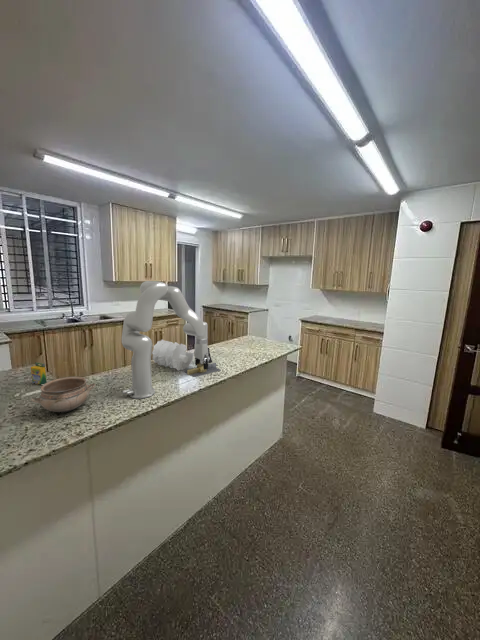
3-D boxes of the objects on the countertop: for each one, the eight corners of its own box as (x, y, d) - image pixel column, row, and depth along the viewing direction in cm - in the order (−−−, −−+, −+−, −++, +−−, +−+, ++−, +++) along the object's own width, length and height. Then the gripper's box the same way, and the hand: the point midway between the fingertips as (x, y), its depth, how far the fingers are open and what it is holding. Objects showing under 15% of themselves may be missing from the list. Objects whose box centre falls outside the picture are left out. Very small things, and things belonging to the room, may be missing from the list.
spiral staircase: (180, 378, 173) (154, 369, 185) (197, 361, 185) (171, 353, 197) (172, 357, 163) (144, 348, 176) (190, 340, 175) (163, 333, 188)
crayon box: (32, 383, 150) (29, 363, 148) (37, 381, 153) (35, 362, 151) (41, 385, 148) (39, 365, 146) (47, 383, 151) (45, 363, 149)
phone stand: (203, 366, 186) (203, 349, 184) (197, 364, 190) (197, 347, 188) (212, 362, 193) (212, 346, 191) (206, 361, 197) (206, 345, 195)
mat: (193, 378, 164) (193, 377, 164) (184, 372, 173) (183, 371, 173) (221, 370, 177) (221, 370, 177) (211, 365, 186) (211, 365, 186)
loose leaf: (189, 375, 166) (189, 368, 166) (186, 373, 170) (186, 366, 169) (206, 371, 174) (206, 364, 174) (202, 369, 178) (202, 362, 177)
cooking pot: (89, 394, 139) (88, 371, 137) (103, 407, 126) (101, 382, 124) (29, 410, 121) (26, 385, 119) (37, 427, 108) (34, 399, 106)
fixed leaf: (201, 372, 173) (201, 357, 171) (199, 370, 175) (199, 356, 173) (217, 368, 181) (217, 354, 179) (214, 367, 183) (214, 353, 181)
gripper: (189, 339, 175) (189, 364, 178) (204, 344, 162) (204, 372, 165) (199, 337, 180) (199, 362, 183) (214, 343, 167) (214, 369, 170)
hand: (201, 367), depth 174 cm, fingers open, 9 cm apart
